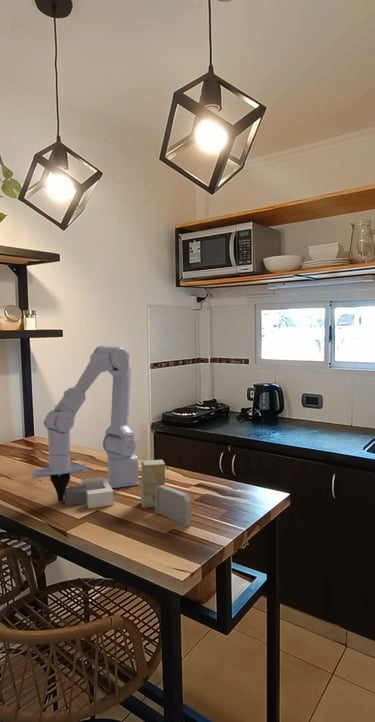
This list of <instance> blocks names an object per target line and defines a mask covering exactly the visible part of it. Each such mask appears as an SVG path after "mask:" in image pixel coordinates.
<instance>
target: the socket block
mask: <svg viewBox="0 0 375 722" xmlns="http://www.w3.org/2000/svg"><path fill="white" fill-rule="evenodd" d="M106 479H107V478H106V477H105V476H98V477H91V478H81V479H80V486H83V485H85V486H86V488H87V490H88V491H86V495H87V503H86V507H87V509H95V508H102V507H109V506H114V504H115V503H114V501H115V500H114V489H113V488H111V486H110V485H109V483H108V482H107V480H106Z"/></svg>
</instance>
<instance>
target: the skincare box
mask: <svg viewBox="0 0 375 722" xmlns="http://www.w3.org/2000/svg"><path fill="white" fill-rule="evenodd" d="M140 470H141V471H140V472H141V473H140V479H141V481H140V503H141V507H142V508H155V490H156V489H157V487H158V486H161V485H165V484H166V463H165V461H164V460H163V459H150V460H141V468H140ZM165 486H166V485H165Z"/></svg>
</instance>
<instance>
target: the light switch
mask: <svg viewBox="0 0 375 722" xmlns="http://www.w3.org/2000/svg"><path fill="white" fill-rule="evenodd" d="M154 509H155V511H154V512H155V513H154V514H156V515H162V516H164V517H166V518H168V519H170V520H173V521H175V522H176V523H179V524H181V525H182V526H183V527H186V528H188V527H190V526H192V499H191V498H190V496H189V494H188V493H187V492H183V491H181V490H178V489H176V488H173V487H170V486H169V485H161V486H158V487H157V489H156V490H155V507H154Z"/></svg>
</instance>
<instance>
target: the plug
mask: <svg viewBox="0 0 375 722" xmlns="http://www.w3.org/2000/svg"><path fill="white" fill-rule="evenodd" d="M86 491H88V490H87V488H86V486H85V485H83V486H81V485H75V486H67V487H66V490H65V493H64V498H63V501H64V502H65V505H66V507H70V506H75V505H76V506H77V505H83V504H87V495H86Z"/></svg>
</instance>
